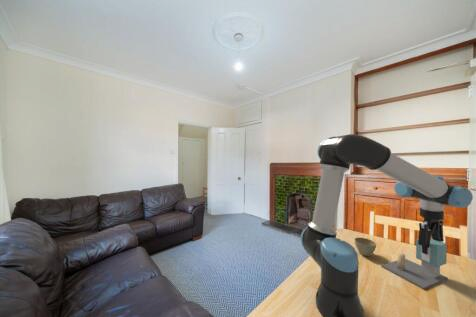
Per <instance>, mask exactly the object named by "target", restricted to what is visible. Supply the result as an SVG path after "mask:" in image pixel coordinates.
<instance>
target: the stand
mask: <svg viewBox="0 0 476 317" xmlns="http://www.w3.org/2000/svg"><path fill="white" fill-rule="evenodd" d="M381 268H383V269H384V270H387V271H388V272H390V273H392V274H394V275H396V276H397V277H399V278H401V279H403V280H405V281H407V282H408V283H411V284H413V285H414V286H416V287H417V288H420V289H422V290H426V289H428V288H431V287H433V286H436V285H438V284H441V283H443V282H445V281H448V280H449V279H448V278H449V277H447V276H445V275H443V274H441V266H439V267H436V266H433V265H431V264H429V263H426V262H424V261H421V264H418V263H417V262H414V261H412V260H409V259H407V258H406V255H405V254H404V253H403V252H397V259H396V260H395V261H391V262H388V263H385V264H381Z"/></svg>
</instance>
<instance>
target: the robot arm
mask: <svg viewBox="0 0 476 317" xmlns="http://www.w3.org/2000/svg"><path fill="white" fill-rule="evenodd" d="M317 156H318V158H319V159H320V160H319V167H321V175H320V179H319V185H318V190H317V194H316V200H315V206H314V210H313V216H312V220H311V221H310V222H308V223H307V226H306V227H305V229H302V231H301V235H300V242H301V245H302V247H303V249H304V250H305V252H306V253H307V254H308V255H309V256H310V257H311V258H312V260H313V261H314V262H315V263H316V265H318V267H319V268H320V283H319V286H318V289H317V291H316V293H315V306H316V307H317V310H318V309H319V310H318V311H319V312H320V314H321V315H322V316H323V317H365V312H364V308H363V306H362V303H361V300H360V297H359V264H360V262H359V256H358V255H359V254H358V252H357V250H356V248H355V247H354V246H353V245H352V244H350V242H348V241H346V240H341V239H340V238H337V234H338V232H337V231H336V229H335V222H336V218H337V217H336V216H337V212H338V207H339V202H340V196H341V192H342V186H343V182H344V181H343V180H344V175H345V173H346V172H348V171H349V170H350V167H351V165H355V166H360V167H363V168H366V169H369V170H370V171H378V172H380V173H382V174H384V175H385V176H388V177H390V178H392V179H393V180H395V181H396V182H395V184H394V186H393V187H394V188H393V190H394V192H395V194H396V195H397V196H398V197H401V198H408V199H409V198H413V199H418V200H419V207H420V208H419V216H420V217H421V218H423V222H419V225H418V227H419V228H418V229H419V231H418V239H419V240H418V244H419V245H421V246H422V253H421V259H423V260H425V261H427V262H430V247H429V245H430V240H431V239H433V240H436V241H440V242H443V243H444V228H443V227H444V226H443V225H444V221H443V220H445V219H444V218H445V212H444V210H445V209H444V208H445V206H449V207H453V208H454V207H455V208H459V209H460V208H467V207H468V206H470V205H471V204H472V201H473V193H472V191H471V190H470V189H469V188H467V187H462V186H459V185H452V184H449V183H448V182H446V181H445V179H444V177H443V176H441V175H435V174H431V173H429V172H428V171H425V170H423V169H422V168H419V167H418V166H417V165H415V164H413V163H410V162H409V161H407V160H405V159H404V158H402V157H400V156H397V155H396V154H394V153H392V151H391V149H390V147H388V146H386V145H384V144H382V143H381V142H378V141H376V140H374V139H372V138H369V137H367V136H363V135H360V134H356V133H355V134H354V133H350V134H345V135H338V136H331V137H328V138H325V139H324V140H322V141H321V142H320V144H319V146H318V147H317Z"/></svg>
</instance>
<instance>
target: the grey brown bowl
mask: <svg viewBox="0 0 476 317" xmlns="http://www.w3.org/2000/svg"><path fill="white" fill-rule="evenodd" d="M354 244H355V247H356V248H357V251H358V253H359V254H360V255H362V256H365V257H370V256H372V255H373V253H374V252H375V251H376V248H377V243H376V242H375V241H373V240H372V239H369V238H367V237H366V238H365V237H355V238H354Z"/></svg>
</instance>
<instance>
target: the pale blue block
mask: <svg viewBox="0 0 476 317" xmlns="http://www.w3.org/2000/svg"><path fill="white" fill-rule="evenodd" d="M418 240H419V238H417V239H415V243H416V244H415V247H416V248H415V258H416V259H417V260H419V261H421V262H422V261H424V262H426V263H429V264H431V265H433V266H436V267H439V266H440V267H442V266H445V265H447V246H448V245H447V243H445V242H444V241H443V242H442V241H441V242H440V241H436V240H433V239H432V238H431V240H430V245H429V247H430V262H427V261H425V260H423V259H421V253H422V246H421V245H419V244H418Z"/></svg>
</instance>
